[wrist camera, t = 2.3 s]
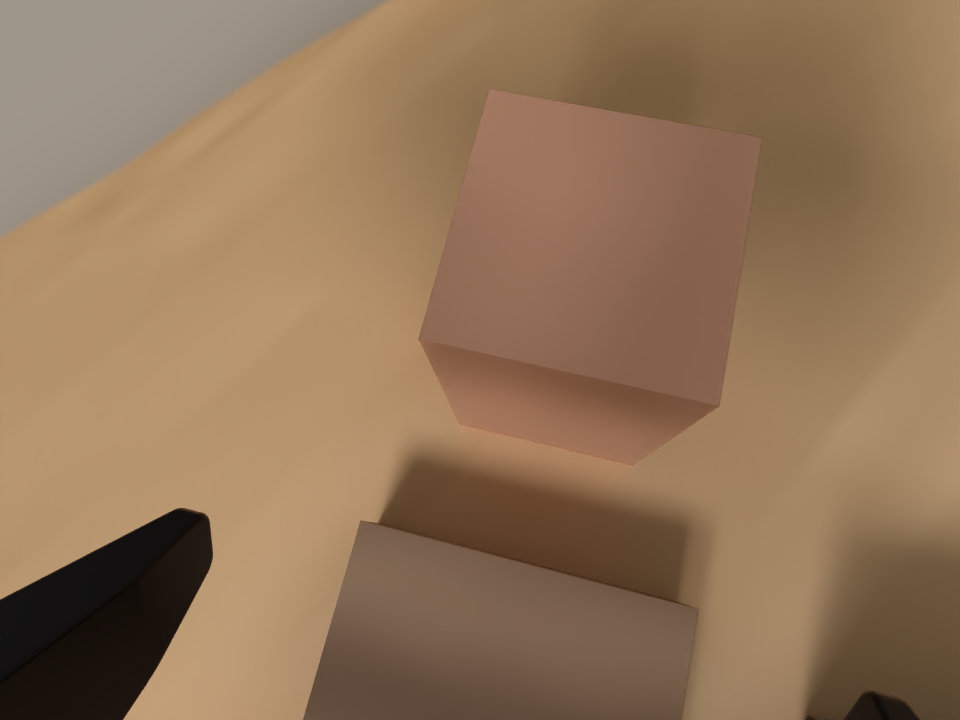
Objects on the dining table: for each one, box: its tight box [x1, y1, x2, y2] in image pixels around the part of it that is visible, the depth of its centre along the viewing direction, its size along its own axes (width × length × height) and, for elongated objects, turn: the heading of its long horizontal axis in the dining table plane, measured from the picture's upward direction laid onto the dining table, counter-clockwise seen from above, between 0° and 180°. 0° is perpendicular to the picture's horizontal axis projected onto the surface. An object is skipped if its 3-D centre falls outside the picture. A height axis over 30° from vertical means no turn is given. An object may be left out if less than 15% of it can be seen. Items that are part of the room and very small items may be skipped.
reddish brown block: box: [419, 89, 762, 466], centre depth 19 cm, size 6×6×10 cm
